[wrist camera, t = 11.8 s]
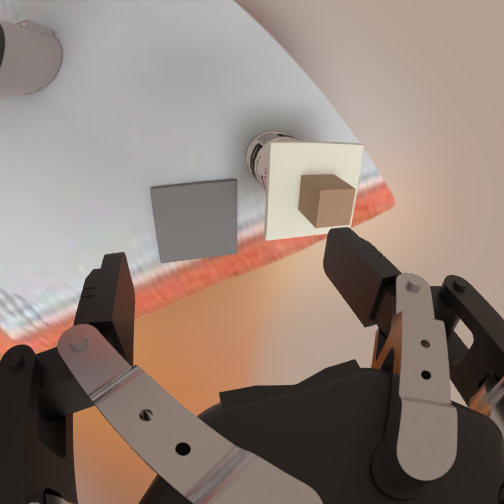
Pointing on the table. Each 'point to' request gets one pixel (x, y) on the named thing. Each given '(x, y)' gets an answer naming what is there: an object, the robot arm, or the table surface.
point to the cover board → (289, 181)
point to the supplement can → (262, 154)
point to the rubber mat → (195, 219)
